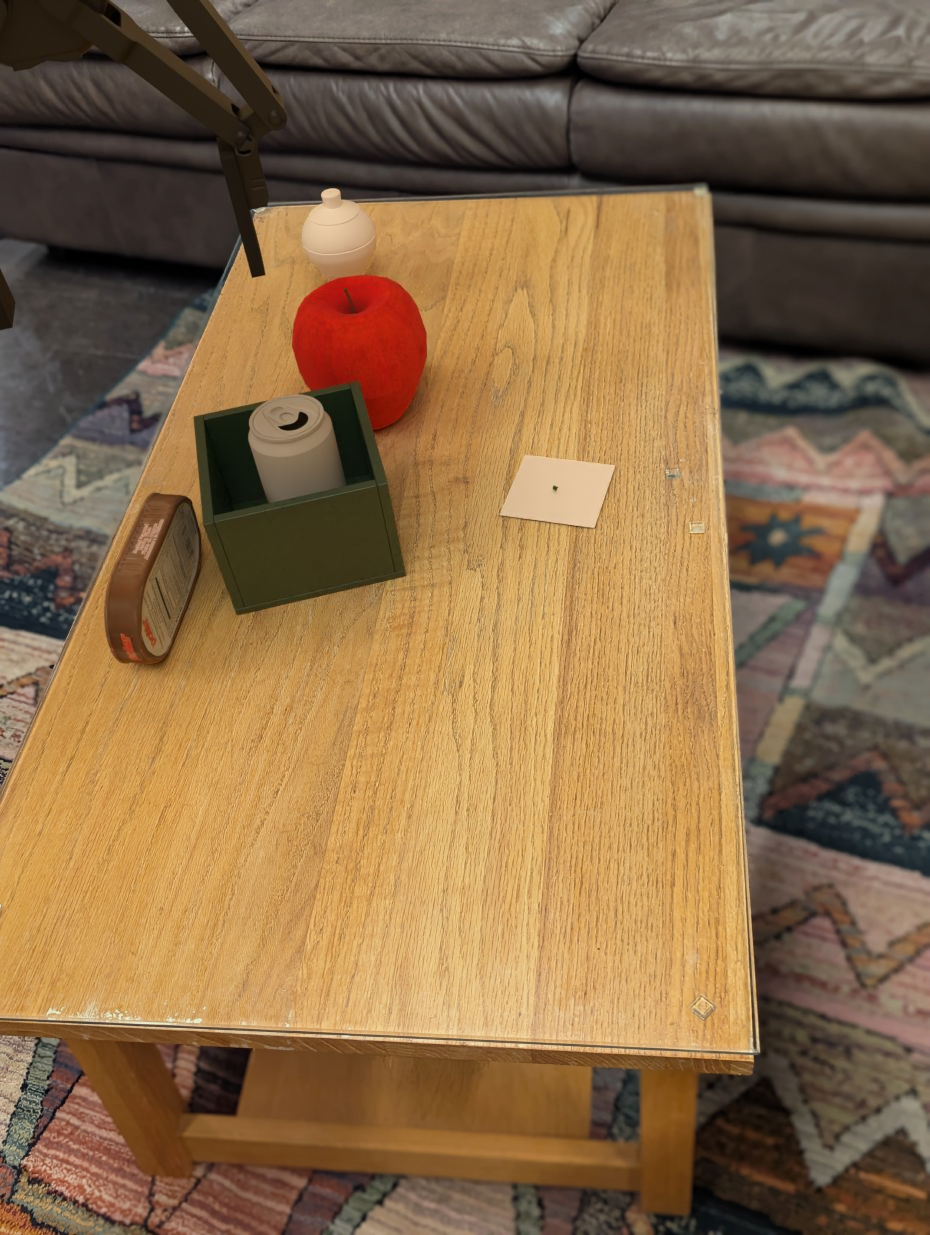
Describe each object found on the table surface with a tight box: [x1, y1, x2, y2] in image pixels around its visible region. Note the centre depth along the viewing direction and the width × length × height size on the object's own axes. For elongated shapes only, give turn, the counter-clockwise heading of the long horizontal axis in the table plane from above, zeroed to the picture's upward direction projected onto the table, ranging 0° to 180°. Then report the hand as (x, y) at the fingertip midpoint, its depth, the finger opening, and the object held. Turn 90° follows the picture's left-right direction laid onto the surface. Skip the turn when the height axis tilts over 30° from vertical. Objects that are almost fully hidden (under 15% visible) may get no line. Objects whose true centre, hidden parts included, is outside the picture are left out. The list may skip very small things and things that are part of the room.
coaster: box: [498, 454, 616, 529], centre depth 90 cm, size 8×8×1 cm
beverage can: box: [248, 393, 347, 503], centre depth 85 cm, size 6×6×12 cm
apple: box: [291, 274, 428, 431], centre depth 95 cm, size 12×12×13 cm
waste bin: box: [193, 381, 407, 616], centre depth 86 cm, size 14×14×10 cm
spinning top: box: [300, 188, 378, 282], centre depth 110 cm, size 8×8×12 cm
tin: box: [103, 491, 203, 665], centre depth 82 cm, size 15×3×8 cm, turn 174°
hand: (133, 291), depth 58 cm, fingers open, 13 cm apart
